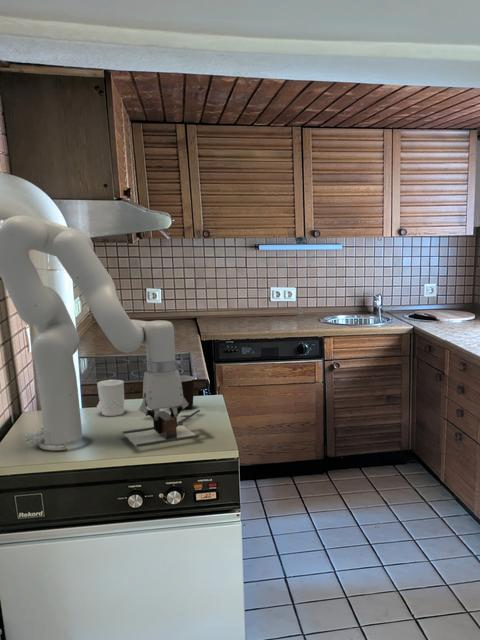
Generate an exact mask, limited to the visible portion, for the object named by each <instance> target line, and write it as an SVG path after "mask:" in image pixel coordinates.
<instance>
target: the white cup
mask: <svg viewBox="0 0 480 640" xmlns="http://www.w3.org/2000/svg"><path fill="white" fill-rule="evenodd" d="M96 386H97V392H98V393H97V394H98V400H99V406H100V410H101V411H100V412H101V415H102V416H105V417H115V416H121V415H124V413H125V381H124V380H122V379H106V380H105V379H104V380H101V381H98V382H96Z"/></svg>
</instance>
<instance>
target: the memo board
mask: <svg viewBox="0 0 480 640" xmlns="http://www.w3.org/2000/svg"><path fill="white" fill-rule="evenodd" d="M176 430H177V438H173V439H167V440H166V439H165V438H164V437H162V436H161V435H160V434H158V433H157V432H156V431H155V430H154V426H151V427H144V428H136V429H129V430H123V431H122V434H123V435H124V436H125V437H126V438H127V439H128V440H129V441H130V443H132V444H133V445H134V446H135V447H136V448H139V447H141V448H142V447H146V446H153V445H160V444H165V443H173V442H179V441H184V440H191V439H197V438H200V435H199V434H196V433H194V432H192V430H190V429H189V428H187V427H186V426H185V425H184V422H183V423H178V422H177V427H176Z"/></svg>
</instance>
